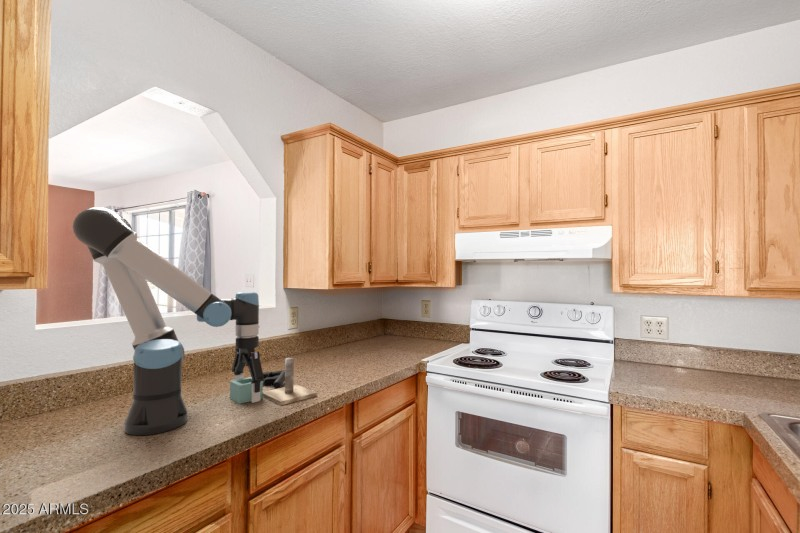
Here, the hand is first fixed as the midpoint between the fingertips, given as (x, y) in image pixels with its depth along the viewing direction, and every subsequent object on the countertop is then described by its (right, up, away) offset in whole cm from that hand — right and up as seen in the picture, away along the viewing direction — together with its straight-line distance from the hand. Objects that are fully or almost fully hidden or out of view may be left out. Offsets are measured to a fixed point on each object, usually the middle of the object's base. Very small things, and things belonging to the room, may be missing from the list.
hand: (247, 397), depth 131 cm
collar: (0, 0, 0) cm, 1 cm away
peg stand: (+14, -1, +3) cm, 14 cm away
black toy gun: (0, -2, +20) cm, 20 cm away
